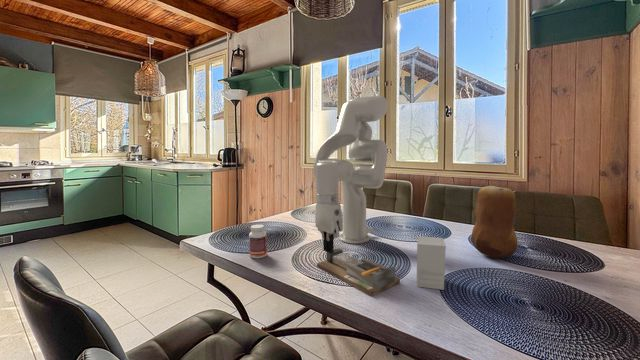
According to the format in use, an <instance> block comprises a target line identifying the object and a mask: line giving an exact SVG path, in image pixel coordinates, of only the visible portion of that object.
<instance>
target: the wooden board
mask: <svg viewBox="0 0 640 360" xmlns="http://www.w3.org/2000/svg"><path fill="white" fill-rule="evenodd" d="M360 261H362V262H365V270H364V269H362V268H359V267H357V266H355V265H353V264H351V263H350V264H347V269H345V268H343V267H341V266H339V265H337V264H335V263H333V262H331V263H330V262H328V261H327V259H326V260H324V261H319V262H317V263H316V267H317V268H319V269H320V270H321V271H323V272H326V273H327V274H330V275H331V276H333V277H335V278H336V279H338V280H340V281H342V282H344V283H346V284H348V285H349V286H351V287H353V288H355V289H357V290H358V291H360V292H362V293H364V294H365V295H367V296H370V297H373V296H375V295H377V294H379V293H381V292H384V291H387V290H388V289H390V288H392V287H395V286H398V285H399V284H400V283H401V279H400V278H398V277H396V267H394V266H390V267H386V266H384V265H381V264H378V263H376V262H374V261H372V260H370V259H368V258H362V259H361V260H360ZM376 267H379V268H380V270H382V271H379V272H377V273H374V274H372V273H370V274H368V275H365V276H362V275H361V273H363V272H365V271H368V270H371V269H373V268H376Z"/></svg>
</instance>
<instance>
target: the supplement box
mask: <svg viewBox="0 0 640 360" xmlns="http://www.w3.org/2000/svg"><path fill="white" fill-rule="evenodd" d="M416 244H417V245H416V253H417V254H416V286H417V288H418V287H419V288H427V289H434V290H442V291H443V290H445V273H446V248H447V247H446V246H447V245H446V243H445V240H444V237H434V236H433V237H431V236H420V235H419V236H417V243H416Z"/></svg>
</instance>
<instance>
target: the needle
mask: <svg viewBox="0 0 640 360" xmlns="http://www.w3.org/2000/svg"><path fill="white" fill-rule="evenodd" d="M379 271H382V270H380V268H379V267H376V268H373V269H371V270H368V271H365V272H363V273H361V275H362V276H365V275H368V274H370V273H372V274H374V273H377V272H379Z"/></svg>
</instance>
